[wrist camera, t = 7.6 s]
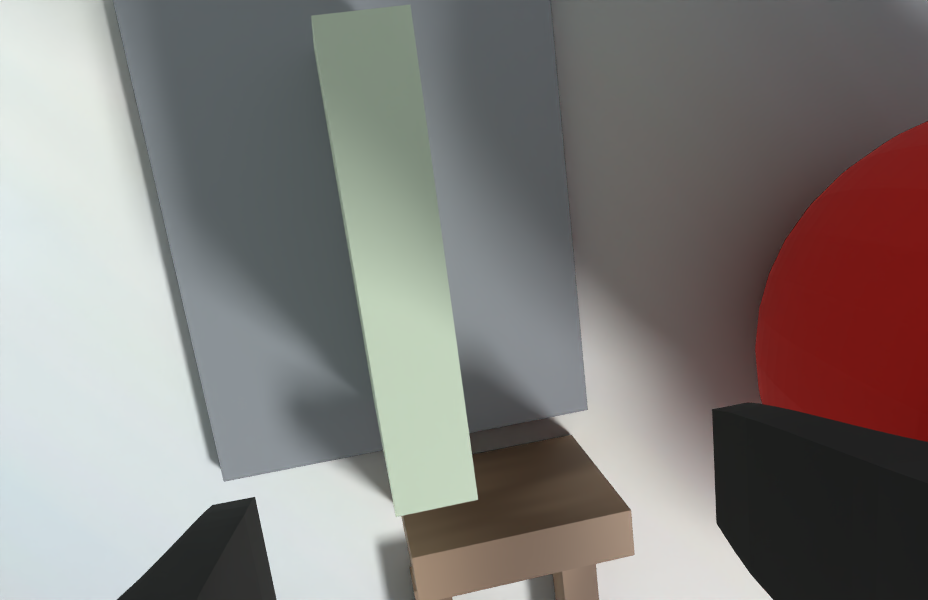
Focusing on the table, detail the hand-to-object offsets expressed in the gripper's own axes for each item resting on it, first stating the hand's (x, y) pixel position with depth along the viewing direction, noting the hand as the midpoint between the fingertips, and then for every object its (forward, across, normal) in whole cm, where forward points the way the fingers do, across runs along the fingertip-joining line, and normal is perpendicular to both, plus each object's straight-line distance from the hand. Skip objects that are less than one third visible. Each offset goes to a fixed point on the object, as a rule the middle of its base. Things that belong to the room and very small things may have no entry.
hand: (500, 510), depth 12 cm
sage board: (+9, +1, -3) cm, 9 cm away
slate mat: (+9, +1, -3) cm, 10 cm away
